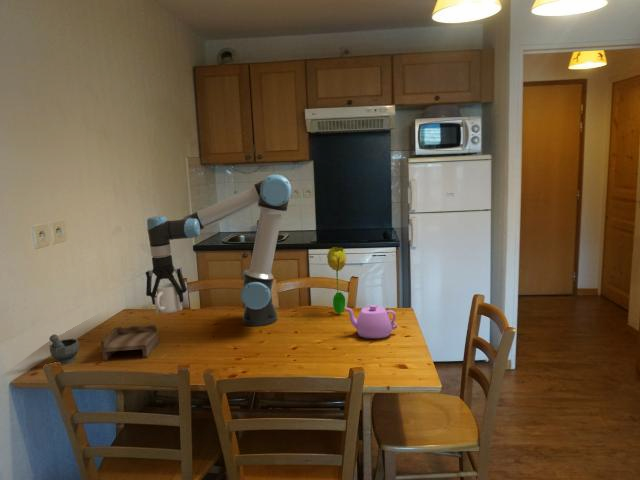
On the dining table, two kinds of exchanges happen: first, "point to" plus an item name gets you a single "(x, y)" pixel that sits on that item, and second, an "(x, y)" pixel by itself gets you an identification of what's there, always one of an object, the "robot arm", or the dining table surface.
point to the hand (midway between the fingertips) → (169, 310)
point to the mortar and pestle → (64, 349)
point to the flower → (337, 263)
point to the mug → (167, 298)
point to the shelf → (130, 340)
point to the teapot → (373, 322)
